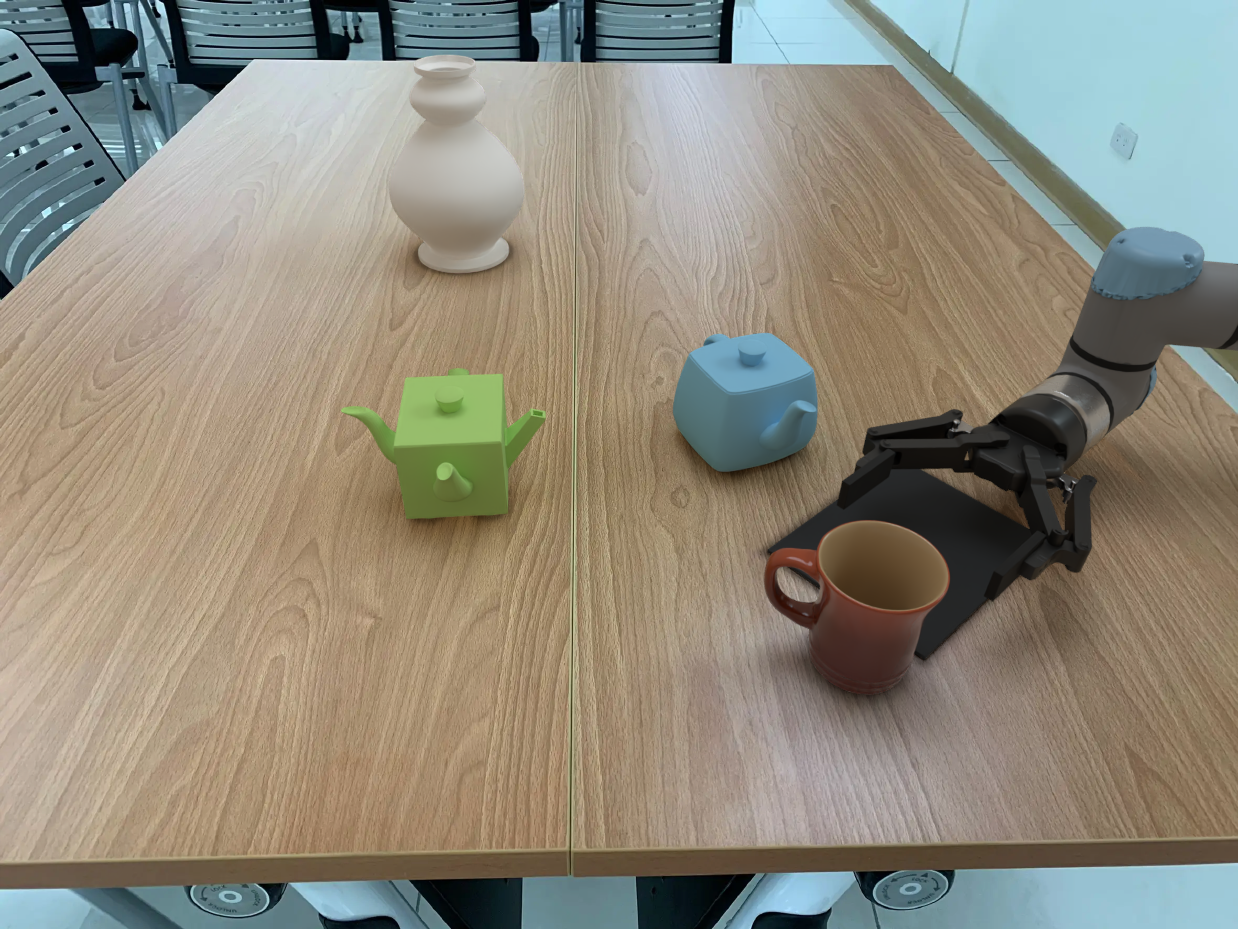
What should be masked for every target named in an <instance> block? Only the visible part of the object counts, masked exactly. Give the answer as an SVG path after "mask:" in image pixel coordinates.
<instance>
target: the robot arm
mask: <svg viewBox="0 0 1238 929" xmlns="http://www.w3.org/2000/svg"><path fill="white" fill-rule="evenodd" d="M1078 315H1079V316H1078V318H1077V321H1076V323H1075V326H1074V330H1073V331H1072V334H1071V336H1070V338H1069V340H1068V342H1067V345H1066V348H1065V350H1064V353H1063V356H1062V358H1061V361H1060V363H1059V365H1058V367H1057V368H1056V370H1055V371H1054V372H1052V373H1051V374H1050V375H1048V376H1047V377H1046V378H1045V379H1043V380H1042V381H1040V382H1039V383H1038V384H1036V385H1035V386H1034V387H1032V388H1031V389H1030V390H1029V389H1028V391H1027V392H1025V393H1024V394H1022V395H1021V396H1019V397H1018V398H1017V399H1016V400H1015V401H1013V402H1011V404H1010V405H1008V406H1007V407H1006V408H1004V409H1002V410H1001V411H1000V412H998V413H997V414H996V415H995V416H994V417H993V418H992V419H991V420H990V421H989V422H987V424H985V425H978V426H975V427H974V426H972V425H970V424H969V423H967V422H966V421H964V420H963V417H964V412H963V411H962V410H960V409H958V408H952V409H950V410H948V411H945V412H944V413H942V414H939V415H936V416H929V417H924V418H918V419H917V418H916V419H912V420H906V421H900V422H894V423H887V424H881V425H877V426H871V427H868V428H867V429H866V433H865V437H864V441H863V445H862V446H863V447H862V451H861V453H862V454H863V456H862V457H861V458H859V459H857V461H856V463H855V466H854V470H853V472H852V473H851V474H849V476H847V477H845V478H844V479H843V480H841V483H840V489H839V493H838V497H837V499H838V501H837V506H838V507H840V508H842V509H843V510H844V509H846V508H847V507H849V506H850V505H851V504H853V503H854V502H855V501H857V500H858V499H860V498H861V497H862V496H864V495H865V494H866V493H868V492H869V491H870V490H872V489H873V488H875V487H876V486H877V485H879V484H880V483H881V482H883V481H884V480H886V479H887V478H888V477H889V475H890V472H891V469H921V470H952V471H953V473H955V474H973V475H974V476H976V477H978V478H980V479H982V480H984V481H988V482H990V483H992V484H993V485H994V486H996V487H997V488H998V489H1000V490H1002V491H1004V492H1008V491H1010V492H1013V493H1014V497H1015V499H1016V502H1017V505H1018V508H1019V509H1020V508H1021V509H1022V511H1023V514H1024V517H1025V519H1026V522H1027V525H1028V528H1029V529H1030V532H1031V535H1032V536H1031V537H1030V538H1029V539H1027V540H1026V541H1025V542H1024V543H1023V544H1022V545H1021V546H1020V547H1019V548H1018V549H1017V550H1016V551H1015V552H1013V553H1012V554H1011V555H1010V556H1009V557H1008V558H1007V559H1006V560H1005V561H1004V562H1003V563H1002V564H1001V565H999V566H998V567H997V568H996V569H995V570H994V571H993V574H992V576H991V579H990V581H989V584H988V586H987V589H986V591H985V594H984V597H986V598H988V599H987V600H989V601H990V602H994V601H995V600H996V599H997V598H998V597H1000V595H1001V594H1003V592H1005V590H1007V589H1008V588H1009V587H1010V586H1011V585H1012V584H1013V583H1014V582H1015V581H1016V580H1017V579H1018V578H1019V577H1020V576H1021V577H1023V578H1024V579H1026V580H1027V581H1029V582H1031V581H1033V580H1036V579H1038V577H1039V576H1041V574H1042V573H1044V571H1045V570H1046V569H1048V568H1049V566H1050V565H1054V564H1061V565H1063V566H1064V567H1065V569H1066V570H1067V571H1068V572H1070V573H1074V574H1078V573H1080V572H1081V571H1082V569H1083V568H1084V565H1085V564H1086V562H1087V559H1088V557H1089V555H1090V553H1091V551H1092V549H1093V537H1092V536H1093V535H1092V512H1091V511H1092V510H1091V496H1092V494H1093V492H1094V490H1095V489H1096V486H1097V483H1098V479H1097V478H1096V477H1095V476H1093V475H1090V474H1083V475H1082V476H1081V477H1080V478H1076V477H1073V476H1071V475H1069V474H1067V473H1066V472H1067V471H1068V470H1069V469H1071V467H1073V466H1074V465H1075V464H1076V463H1077V462H1078V461H1079V460H1080V459H1081V458H1082V457H1083V456H1085V455H1087V453H1088V452H1089V451H1090V450H1091V449H1093V448H1094V447H1095V446H1096V445H1097V444H1098V443H1100V441H1102V440H1103V439H1104V438H1105V437H1106V436H1107V435H1108V434H1109V433H1111V431H1113V430H1114V429H1115V428H1116V427H1117V426H1118V425H1120V424H1121V423H1122V422H1124V421H1125V420H1126V419H1127V418H1129V417H1131V416H1133V414H1135V412H1136V411H1138V410H1140V409H1141V407H1143V405H1144V403H1145V402H1146V401H1147V399H1148V398H1149V396H1150V395H1151V394H1152V393H1153V391H1154V388H1155V386H1156V384H1157V380H1158V373H1157V366H1156V364H1157V362H1158V360H1159V357H1160V355H1161V354H1162V352H1163V350H1164V348H1165V347H1166V346H1178V347H1190V348H1203V349H1211V350H1212V349H1213V350H1226V351H1236V352H1238V263H1233V262H1223V261H1211V260H1210V261H1209V260H1205V250H1204V248H1203V247H1202V245H1201V244H1200V243H1199V242H1198V241H1196V239H1194V238H1193V237H1191V236H1189V235H1186V234H1184V233H1181V232H1178V231H1173V230H1171V231H1169V230H1166V229H1164V228H1162V227H1155V226H1136V227H1131V228H1127V229H1124V230H1122V231H1120V232H1118V233H1117V234H1115V235H1114V236H1113V237H1112V239H1111V240H1110V241H1109V243H1108V245H1107V247H1106V249H1105V251H1104V252H1103V253H1102V256H1101V258H1100V260H1099V262H1098V265H1097V267H1096V269H1095V271H1094V272H1093V274H1092V277H1091V278H1090V283H1089V287H1088V290H1087V293H1086V295H1085V298H1084V302H1083V304H1082V307H1081V310H1080V312H1079V314H1078ZM966 457H967V458H968V459H966ZM1056 488H1057V489H1059V490H1060V492H1061V494H1060V495H1061V497H1062V498H1063V499H1062V500H1061V502H1062V504H1064V505H1066V506H1065V509H1064V514H1063V515H1064V516H1063V517H1064V518H1063V519H1064V529H1063V528H1062V525H1061V523H1060V520H1059V517H1058V515H1057V512H1056V510H1055V506H1054V504H1053V501H1052V499H1051V496H1050V493H1049V491H1050V490H1053V489H1056Z"/></svg>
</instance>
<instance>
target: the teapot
mask: <svg viewBox="0 0 1238 929" xmlns="http://www.w3.org/2000/svg"><path fill="white" fill-rule="evenodd" d="M816 381H817V380H816V375H815V371H814V368H813V367H812V365H810V364H809V363H808V362H807V361H806V360H805V359H804V358H803V357H801V356H800V355H799V354H798V353H797V352H796V351H795V350H794V349H793V348H791V347H790V345H788V344H786V343H785V342H784V341H783V340H781V339H780V338H779V337H777V336H776V335H774V334H773V333H770V332H759V333H751V334H745V335H741V336H735V337H731V338H730V337H729V336H727V335H726V334H724V333H714V334H711V335H709V336H708V337H707V338H705V340H704V341H703V345H702V346H700V347H698V348H695V349H694V350H692V351H690V352H689V353H688V355H687V357H686V360H685V362H684V364H683V367H682V370H681V373H680V375H679V378H678V380H677V385H676V388H675V393H674V396H673V404H672V415H673V419H674V422H675V424H676V427H677V430H678V431H679V432H680V433H681V435H682V436H683V438H684V439H685V440H686V441H687V442H688V444H689V445H690V447H691V448H692V449H693V450H694V451H695V452H696V453H697V454H698V455H699V456H700V457H701V458H702V459H703V461H705V463H707V465H709V466H710V467H711V468H712V469H714V471H717V472H724V473H726V472H735V471H742V470H746V469H750V468H755V467H760V466H764V465H768V464H771V463H773V462H776V461H777V462H778V461H779V460H781V459H785V458H787V457H789V456H791V455H794V454H795V453H797V452H800V451H801V450H803V449H804V448H806V447H807V445H808V444H810V442H811V440H812V439H813V437H814V435H815V433H816V430H817V424H818V409H819V408H818V407H819V406H818V405H819V402H818V390H817V382H816Z"/></svg>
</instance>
